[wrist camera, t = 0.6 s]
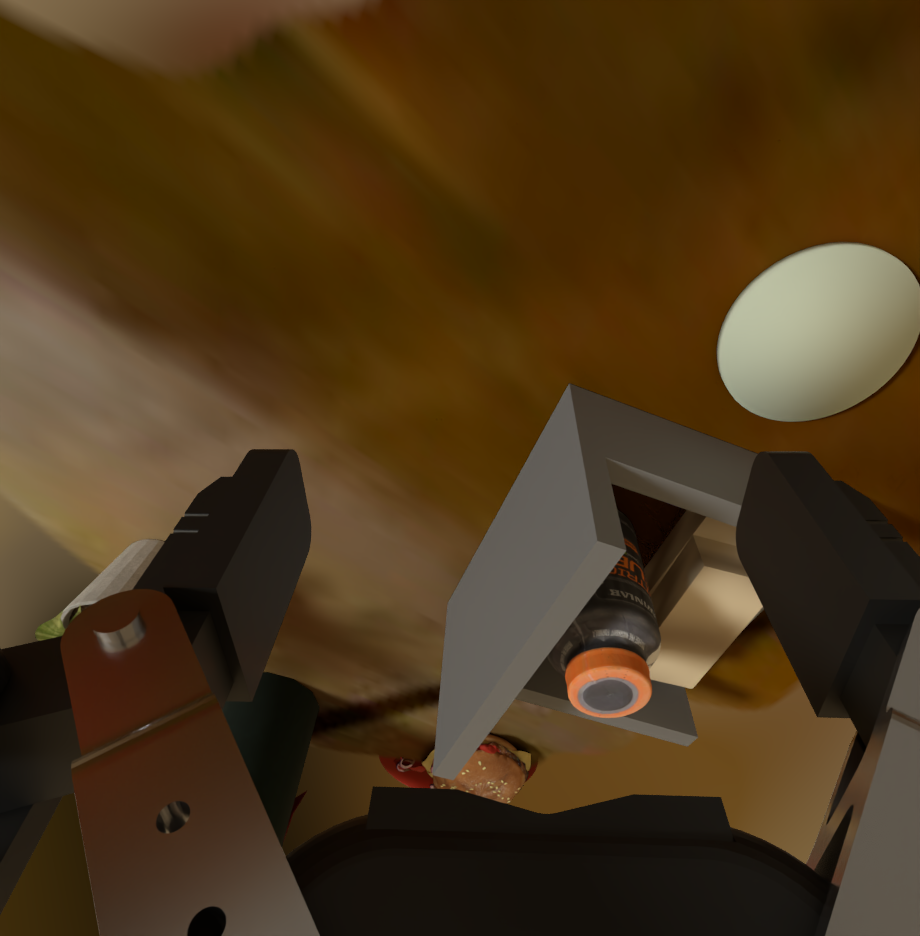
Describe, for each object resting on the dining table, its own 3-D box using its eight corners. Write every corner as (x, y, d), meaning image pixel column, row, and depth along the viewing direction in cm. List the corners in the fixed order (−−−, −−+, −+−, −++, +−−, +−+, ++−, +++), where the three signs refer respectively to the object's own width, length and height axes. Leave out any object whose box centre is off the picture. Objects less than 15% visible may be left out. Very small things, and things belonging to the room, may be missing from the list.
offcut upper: (692, 534, 36) (704, 566, 34) (765, 553, 37) (781, 585, 35) (619, 641, 42) (625, 673, 40) (683, 656, 42) (692, 688, 40)
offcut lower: (704, 476, 37) (716, 504, 35) (779, 500, 37) (795, 528, 35) (604, 615, 44) (609, 644, 42) (668, 632, 45) (676, 662, 43)
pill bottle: (654, 522, 38) (702, 684, 29) (598, 582, 41) (626, 745, 32) (570, 484, 37) (592, 642, 28) (519, 549, 40) (524, 709, 31)
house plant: (-3, 469, 38) (-265, 711, 25) (218, 465, 37) (64, 716, 24) (92, 625, 47) (-68, 867, 34) (274, 625, 46) (182, 876, 33)
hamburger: (418, 688, 50) (409, 761, 45) (569, 740, 53) (575, 813, 49) (355, 767, 58) (342, 836, 53) (490, 808, 61) (489, 877, 56)
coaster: (795, 210, 27) (801, 213, 27) (961, 285, 29) (969, 290, 28) (680, 380, 32) (683, 386, 32) (827, 437, 34) (832, 444, 34)
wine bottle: (274, 749, 56) (100, 1319, 32) (202, 684, 50) (-72, 1307, 26) (351, 733, 54) (227, 1332, 29) (284, 662, 48) (67, 1322, 24)
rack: (569, 383, 33) (597, 540, 23) (848, 487, 36) (976, 665, 26) (447, 603, 43) (432, 775, 34) (671, 670, 46) (716, 845, 37)
